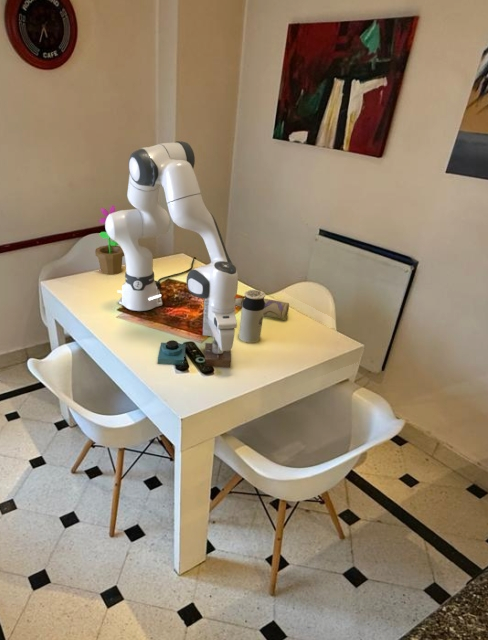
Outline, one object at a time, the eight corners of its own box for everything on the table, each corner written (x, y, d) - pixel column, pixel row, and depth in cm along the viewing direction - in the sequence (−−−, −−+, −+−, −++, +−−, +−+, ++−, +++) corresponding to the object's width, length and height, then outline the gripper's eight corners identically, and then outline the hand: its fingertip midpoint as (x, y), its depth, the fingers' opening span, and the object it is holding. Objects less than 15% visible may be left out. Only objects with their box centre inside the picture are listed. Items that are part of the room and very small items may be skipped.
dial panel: (204, 350, 167) (205, 342, 165) (229, 351, 166) (230, 343, 164) (204, 366, 158) (204, 358, 156) (230, 367, 157) (231, 360, 155)
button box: (161, 347, 168) (161, 338, 165) (185, 349, 167) (186, 339, 165) (157, 363, 159) (157, 353, 156) (183, 365, 158) (184, 355, 156)
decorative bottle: (288, 315, 190) (291, 300, 186) (283, 323, 184) (286, 307, 180) (230, 302, 199) (231, 288, 195) (223, 309, 194) (225, 294, 190)
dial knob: (210, 351, 160) (210, 342, 157) (216, 347, 162) (216, 337, 160) (219, 355, 158) (220, 345, 156) (225, 350, 160) (226, 341, 158)
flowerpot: (129, 266, 232) (126, 204, 214) (120, 277, 221) (117, 212, 203) (102, 264, 235) (97, 202, 217) (92, 274, 223) (86, 210, 206)
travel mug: (234, 338, 174) (239, 293, 163) (246, 331, 178) (252, 287, 168) (251, 345, 169) (258, 300, 159) (263, 338, 174) (270, 293, 164)
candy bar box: (205, 322, 184) (207, 283, 174) (217, 323, 183) (221, 285, 173) (201, 336, 175) (203, 295, 165) (214, 337, 174) (217, 297, 164)
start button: (167, 344, 163) (167, 339, 161) (178, 344, 162) (178, 340, 161) (166, 350, 159) (166, 345, 158) (177, 350, 159) (177, 346, 158)
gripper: (205, 299, 159) (203, 334, 167) (219, 327, 143) (215, 364, 151) (223, 298, 160) (220, 333, 168) (238, 326, 144) (234, 363, 152)
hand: (218, 348), depth 159 cm, fingers closed on dial knob, 4 cm apart
